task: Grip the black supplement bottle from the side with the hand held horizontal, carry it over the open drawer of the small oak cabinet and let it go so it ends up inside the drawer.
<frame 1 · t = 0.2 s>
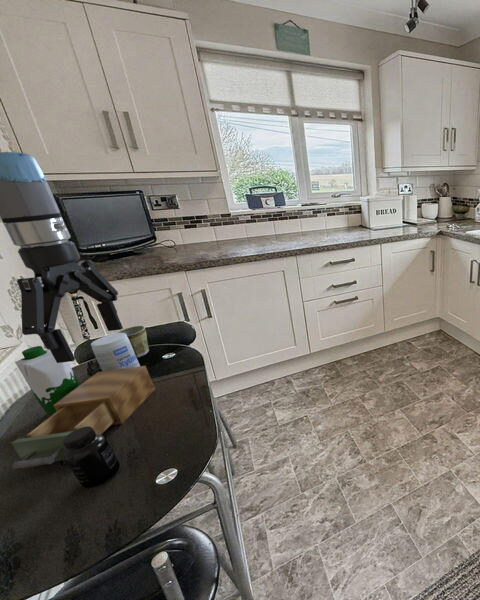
hand: (93, 344, 68), 29 cm above the table, tool pointing down, fingers open, 13 cm apart
drawer: (66, 434, 81), point 4 cm above the table, slide at 11.0 cm
milk carton: (68, 408, 98), on the table
ceramic cup: (137, 353, 129), on the table
cabinet: (115, 408, 96), on the table
supplement tub: (125, 377, 113), on the table
supplement bottle: (102, 476, 73), on the table
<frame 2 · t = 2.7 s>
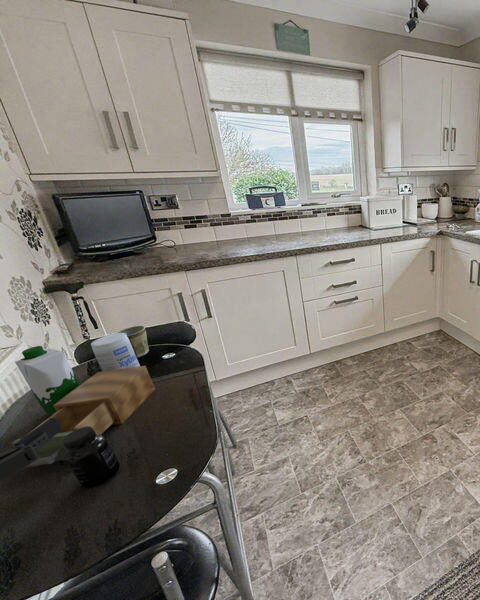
hand: (16, 430, 58), 20 cm above the table, tool horizontal, fingers open, 13 cm apart
nothing on the table moved.
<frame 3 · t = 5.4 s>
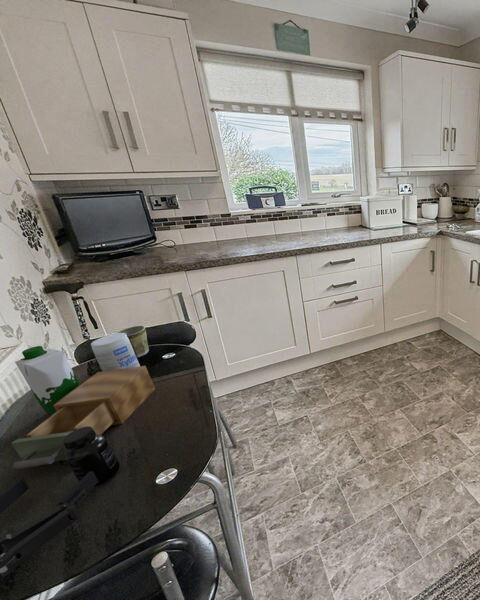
hand: (59, 480, 64), 7 cm above the table, tool horizontal, fingers open, 13 cm apart
nothing on the table moved.
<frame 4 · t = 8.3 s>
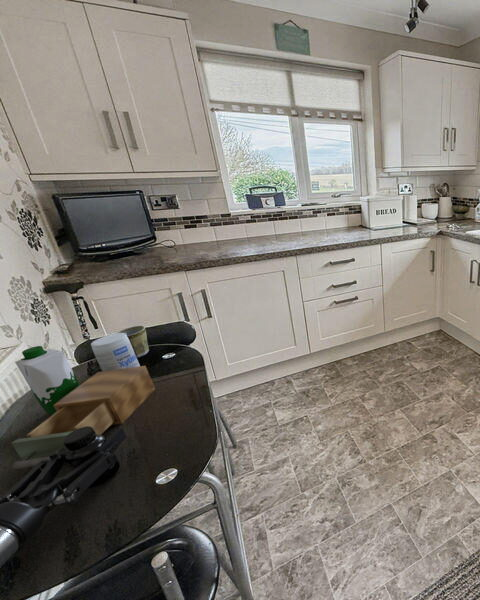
hand: (106, 434, 75), 7 cm above the table, tool horizontal, fingers closed on supplement bottle, 7 cm apart
supplement bottle: (102, 476, 73), on the table, touching gripper
everything else where it was.
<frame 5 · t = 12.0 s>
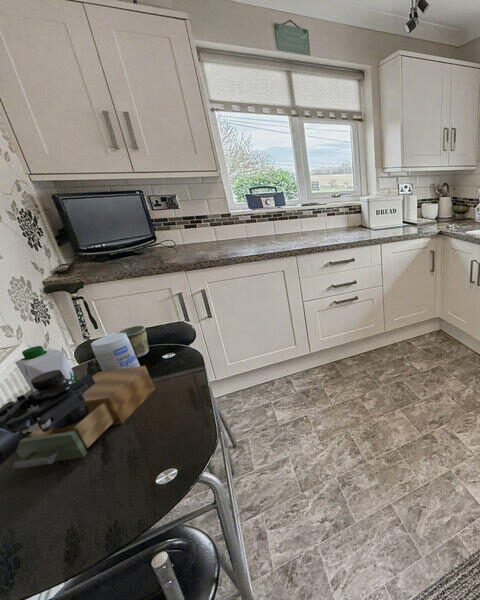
hand: (73, 381, 77), 18 cm above the table, tool horizontal, fingers closed on supplement bottle, 7 cm apart
supplement bottle: (71, 420, 75), point 11 cm above the table, touching gripper
everything else where it was.
when the fingers open (10 cm above the table, at t = 15.8 s): supplement bottle drops 1 cm, resting on drawer.
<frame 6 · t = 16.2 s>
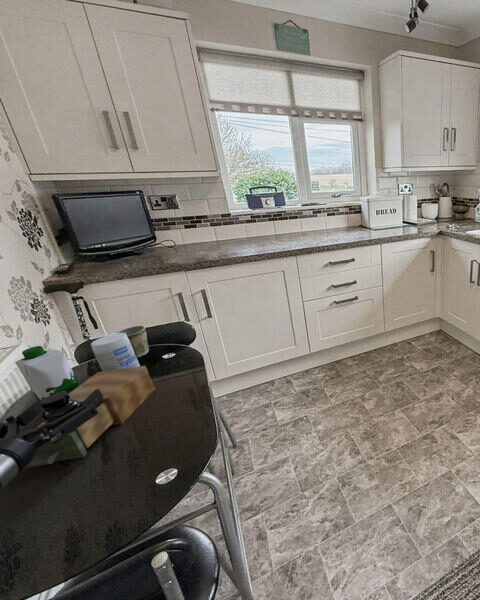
hand: (71, 398, 83), 11 cm above the table, tool horizontal, fingers open, 12 cm apart
drawer: (66, 434, 81), point 4 cm above the table, slide at 11.0 cm, touching supplement bottle
supplement bottle: (76, 436, 83), point 2 cm above the table, touching drawer
everything else where it was.
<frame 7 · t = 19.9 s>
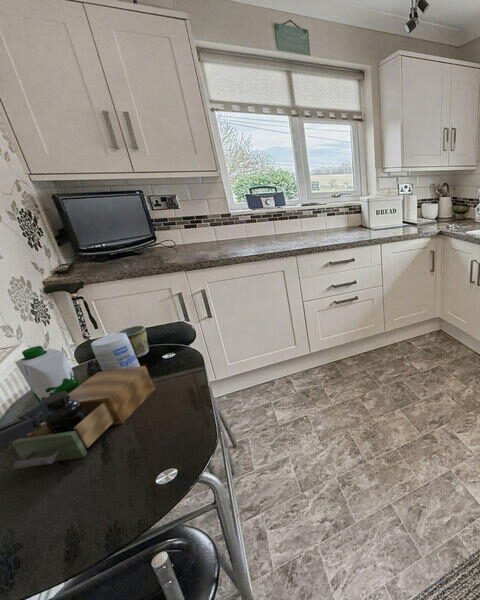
hand: (5, 417, 70), 16 cm above the table, tool horizontal, fingers open, 13 cm apart
nothing on the table moved.
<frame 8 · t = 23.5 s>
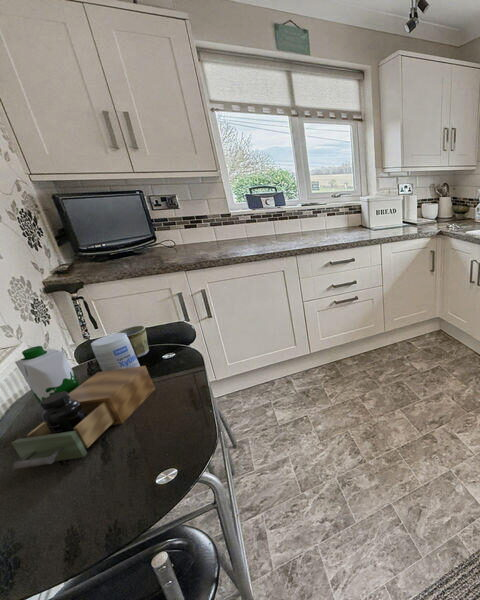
nothing on the table moved.
at the end: supplement bottle inside the target area in the drawer (2.0 cm from its centre), point 1.9 cm above the cabinet's base; the gripper is holding nothing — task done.
